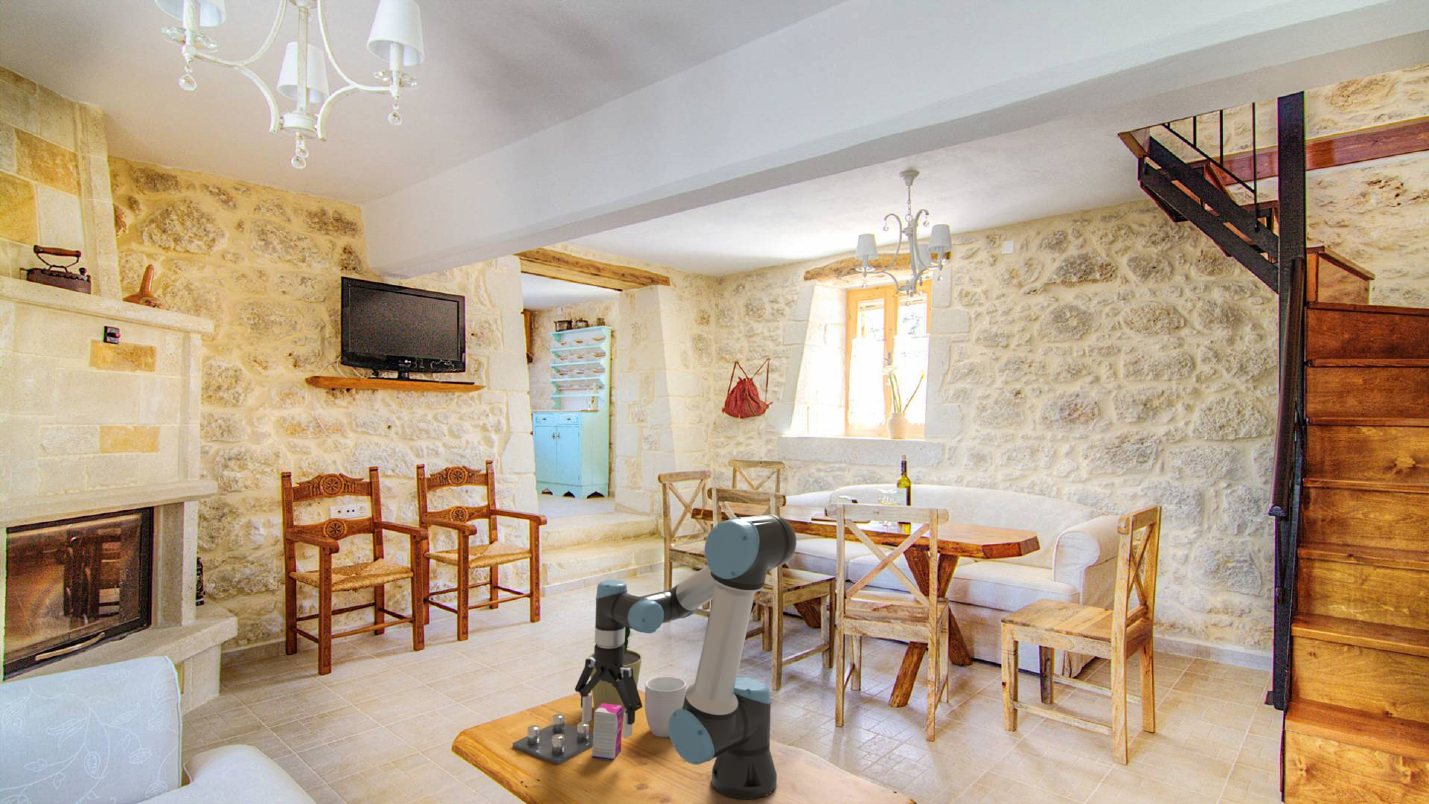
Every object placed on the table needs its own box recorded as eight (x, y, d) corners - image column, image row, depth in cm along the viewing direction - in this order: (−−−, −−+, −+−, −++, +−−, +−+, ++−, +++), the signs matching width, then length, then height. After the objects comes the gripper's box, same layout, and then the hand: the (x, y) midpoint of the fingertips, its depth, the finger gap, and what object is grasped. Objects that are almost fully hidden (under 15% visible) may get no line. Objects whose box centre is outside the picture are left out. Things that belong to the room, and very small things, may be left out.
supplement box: (614, 761, 172) (615, 713, 172) (591, 758, 173) (592, 711, 173) (622, 750, 178) (623, 704, 178) (600, 747, 179) (601, 702, 179)
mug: (695, 721, 196) (696, 674, 196) (703, 738, 185) (704, 688, 185) (641, 725, 192) (642, 677, 193) (646, 743, 182) (647, 692, 182)
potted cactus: (595, 696, 212) (597, 596, 212) (645, 699, 210) (647, 598, 211) (580, 718, 196) (582, 610, 197) (634, 721, 195) (636, 612, 195)
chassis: (602, 740, 183) (603, 723, 183) (557, 765, 169) (558, 746, 170) (558, 725, 192) (558, 708, 192) (512, 747, 178) (512, 729, 178)
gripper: (658, 650, 172) (655, 737, 172) (583, 630, 186) (580, 710, 186) (638, 658, 166) (635, 748, 166) (563, 637, 180) (559, 720, 179)
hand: (606, 728), depth 176 cm, fingers open, 13 cm apart
